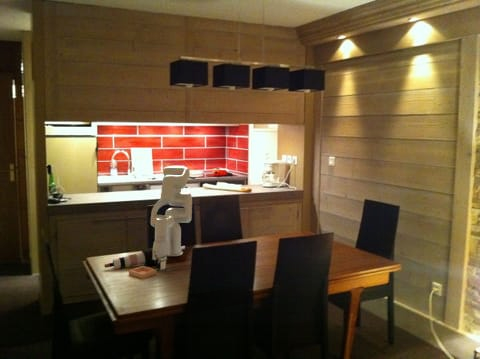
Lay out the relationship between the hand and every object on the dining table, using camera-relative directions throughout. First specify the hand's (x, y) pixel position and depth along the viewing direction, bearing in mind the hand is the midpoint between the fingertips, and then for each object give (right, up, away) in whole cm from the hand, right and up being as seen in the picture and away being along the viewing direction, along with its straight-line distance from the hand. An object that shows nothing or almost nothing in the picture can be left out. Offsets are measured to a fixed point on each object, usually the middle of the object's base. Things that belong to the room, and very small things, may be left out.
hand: (161, 267), depth 274 cm
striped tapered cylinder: (-18, 0, +3) cm, 18 cm away
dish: (-9, -2, -11) cm, 14 cm away
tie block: (0, -1, 0) cm, 1 cm away
